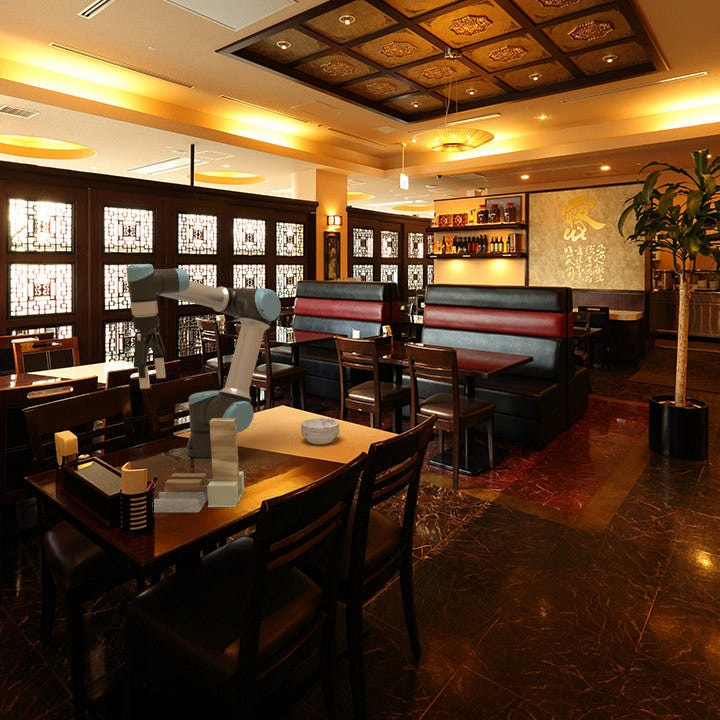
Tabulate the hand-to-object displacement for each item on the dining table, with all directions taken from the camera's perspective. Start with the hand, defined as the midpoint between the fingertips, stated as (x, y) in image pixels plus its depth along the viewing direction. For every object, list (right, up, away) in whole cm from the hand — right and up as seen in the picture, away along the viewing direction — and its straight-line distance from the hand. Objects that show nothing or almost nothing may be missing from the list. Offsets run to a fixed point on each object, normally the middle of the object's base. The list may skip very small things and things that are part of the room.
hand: (153, 382), depth 174 cm
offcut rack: (+13, -36, -9) cm, 39 cm away
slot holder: (+25, -35, -8) cm, 44 cm away
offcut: (+13, -33, -5) cm, 36 cm away
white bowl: (+49, -26, +49) cm, 74 cm away
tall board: (+25, -34, -8) cm, 43 cm away
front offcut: (+13, -34, -10) cm, 38 cm away
